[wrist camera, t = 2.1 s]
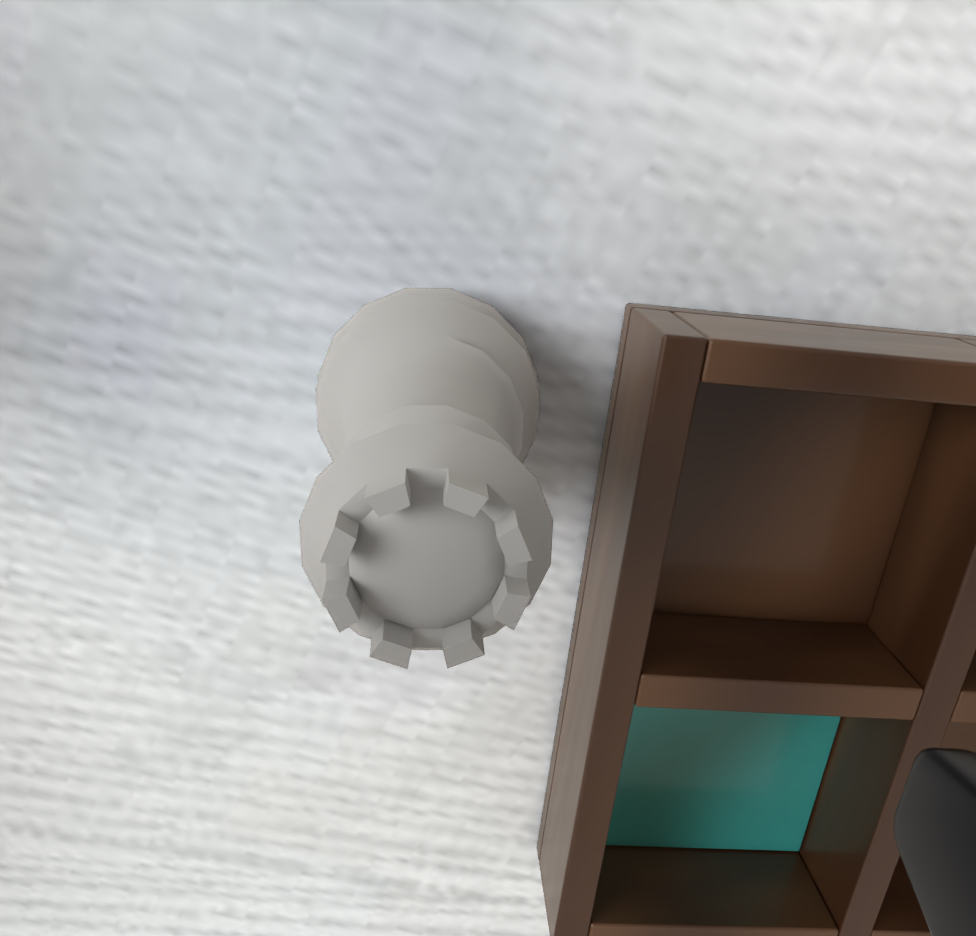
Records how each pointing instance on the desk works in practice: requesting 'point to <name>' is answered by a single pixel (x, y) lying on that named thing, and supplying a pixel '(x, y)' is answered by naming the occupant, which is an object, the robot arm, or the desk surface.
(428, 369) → the rook chess piece
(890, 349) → the grid
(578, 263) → the desk surface
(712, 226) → the desk surface
